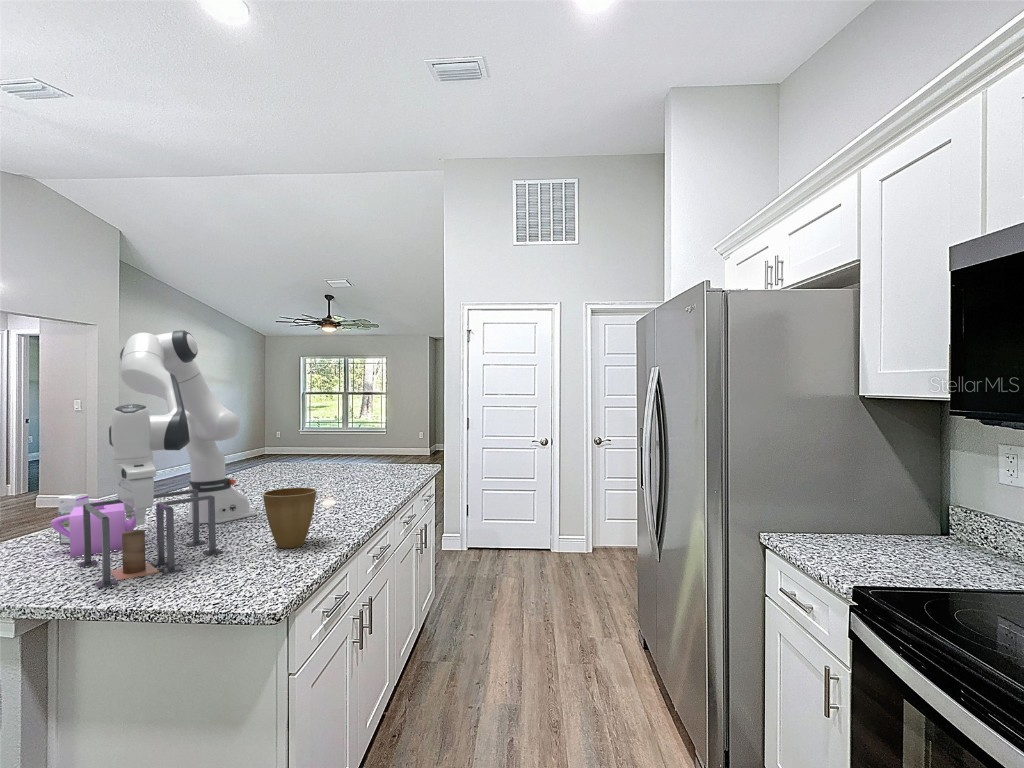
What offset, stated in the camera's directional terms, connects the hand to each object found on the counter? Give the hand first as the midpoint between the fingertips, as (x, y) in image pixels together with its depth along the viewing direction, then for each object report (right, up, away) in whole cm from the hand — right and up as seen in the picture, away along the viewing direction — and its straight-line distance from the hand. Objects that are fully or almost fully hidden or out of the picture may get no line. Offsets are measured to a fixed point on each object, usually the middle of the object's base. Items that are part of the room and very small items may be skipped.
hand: (135, 521), depth 154 cm
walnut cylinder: (0, -13, 0) cm, 13 cm away
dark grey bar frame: (+1, -13, +8) cm, 15 cm away
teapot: (-25, -14, +24) cm, 37 cm away
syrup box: (-38, -14, +31) cm, 51 cm away
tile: (0, -13, 0) cm, 13 cm away
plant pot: (+32, -13, +23) cm, 41 cm away
